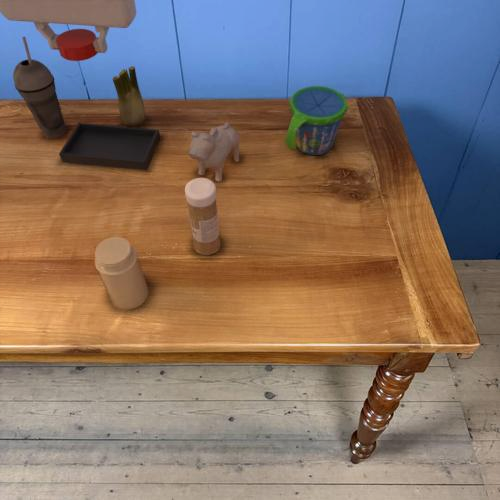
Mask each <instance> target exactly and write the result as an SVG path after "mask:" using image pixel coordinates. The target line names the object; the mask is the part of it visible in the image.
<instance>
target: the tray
mask: <svg viewBox="0 0 500 500" xmlns="http://www.w3.org/2000/svg"><path fill="white" fill-rule="evenodd" d="M161 138H162V137H161V132H160V129H158V128H157V129H156V128H148V127H147V128H145V127H126V126H125V125H123V126H122V125H112V124H102V123H101V124H100V123H88V122H78V123H77V124H76V126H75V128H74V129H73V131H72V132H71V134H70V135H69V137H68V138H67V140H66V142H65V143H64V145H63V147H62V148H61V149H60V152H59V153H58V155H59V158H60V160H61V162H62V163H66V164H77V165H85V166H96V167H107V168H108V167H109V168H118V169H128V170H130V169H131V170H138V171H148V168H149V166H150V163H151V161H152V159H153V157H154V154H155V152H156V149H157V148H158V145H159V142H160V140H161Z"/></svg>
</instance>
